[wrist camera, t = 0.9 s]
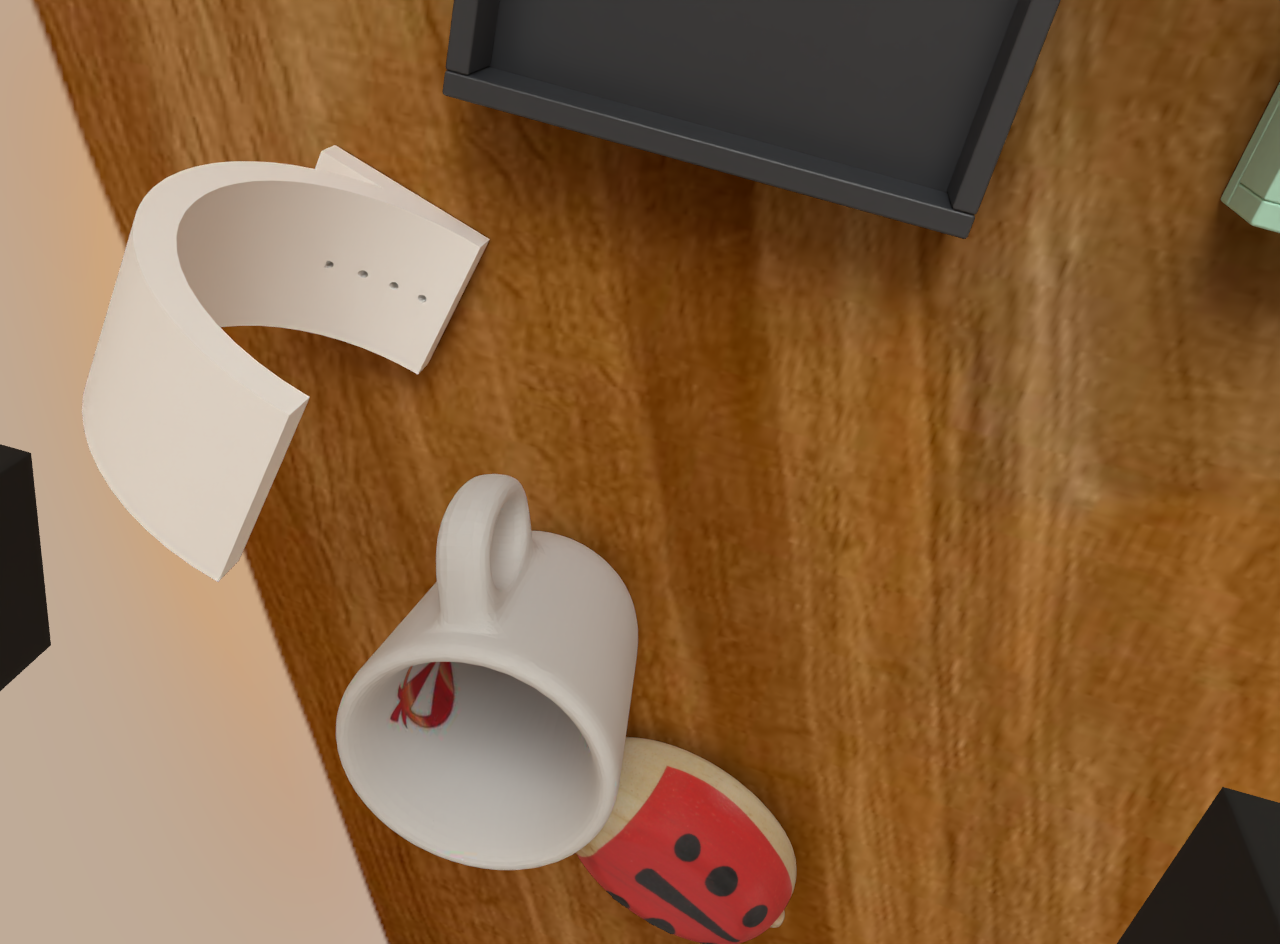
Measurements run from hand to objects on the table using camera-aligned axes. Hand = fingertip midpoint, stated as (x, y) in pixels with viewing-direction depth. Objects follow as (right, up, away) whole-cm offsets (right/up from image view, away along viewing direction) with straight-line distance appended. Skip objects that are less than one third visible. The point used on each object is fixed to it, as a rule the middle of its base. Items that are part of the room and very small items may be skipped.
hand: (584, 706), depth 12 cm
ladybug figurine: (+2, -10, +27) cm, 29 cm away
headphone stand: (-7, +9, +19) cm, 22 cm away
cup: (-2, 0, +23) cm, 23 cm away
